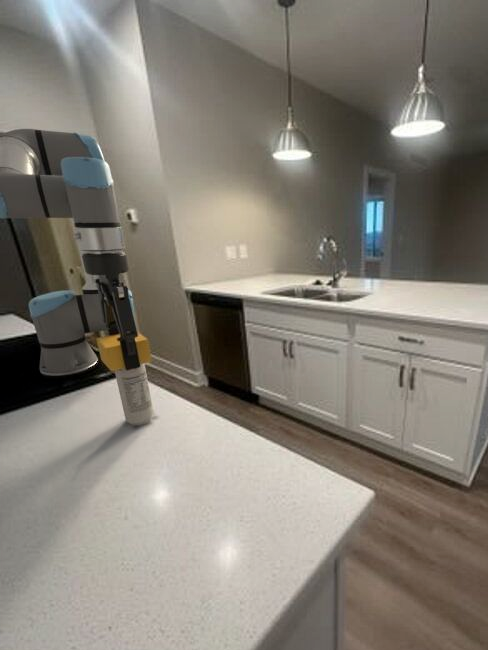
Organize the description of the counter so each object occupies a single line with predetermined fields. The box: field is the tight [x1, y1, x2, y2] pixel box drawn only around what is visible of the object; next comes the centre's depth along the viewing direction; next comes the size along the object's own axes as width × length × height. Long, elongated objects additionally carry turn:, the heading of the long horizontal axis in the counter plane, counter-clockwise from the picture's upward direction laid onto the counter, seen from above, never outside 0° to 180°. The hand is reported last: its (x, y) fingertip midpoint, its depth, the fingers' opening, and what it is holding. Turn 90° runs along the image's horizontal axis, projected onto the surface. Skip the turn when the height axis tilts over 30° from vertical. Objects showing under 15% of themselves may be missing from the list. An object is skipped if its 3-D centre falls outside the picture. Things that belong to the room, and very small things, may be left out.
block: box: [96, 331, 153, 372], centre depth 73 cm, size 8×8×5 cm
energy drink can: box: [114, 363, 155, 427], centre depth 77 cm, size 6×6×15 cm
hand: (126, 361), depth 74 cm, fingers closed on block, 8 cm apart
